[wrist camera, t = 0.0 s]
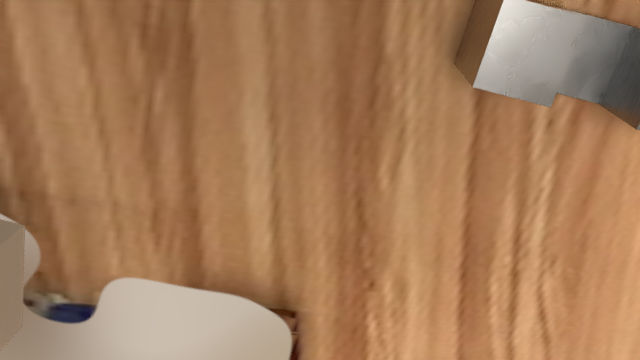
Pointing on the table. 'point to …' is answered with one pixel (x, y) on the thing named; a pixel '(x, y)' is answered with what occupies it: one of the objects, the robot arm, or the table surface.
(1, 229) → the robot arm
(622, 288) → the table surface
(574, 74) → the metal block
